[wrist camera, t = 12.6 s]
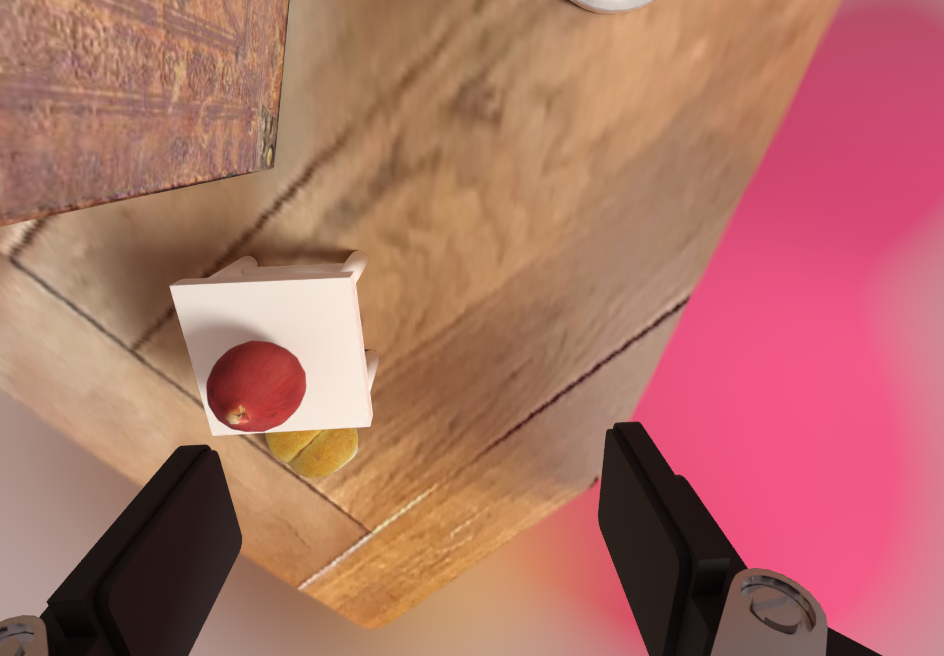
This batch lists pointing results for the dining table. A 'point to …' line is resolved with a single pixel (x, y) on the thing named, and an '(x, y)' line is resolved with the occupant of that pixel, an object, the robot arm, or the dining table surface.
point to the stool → (286, 333)
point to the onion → (255, 386)
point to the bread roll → (314, 449)
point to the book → (133, 98)
